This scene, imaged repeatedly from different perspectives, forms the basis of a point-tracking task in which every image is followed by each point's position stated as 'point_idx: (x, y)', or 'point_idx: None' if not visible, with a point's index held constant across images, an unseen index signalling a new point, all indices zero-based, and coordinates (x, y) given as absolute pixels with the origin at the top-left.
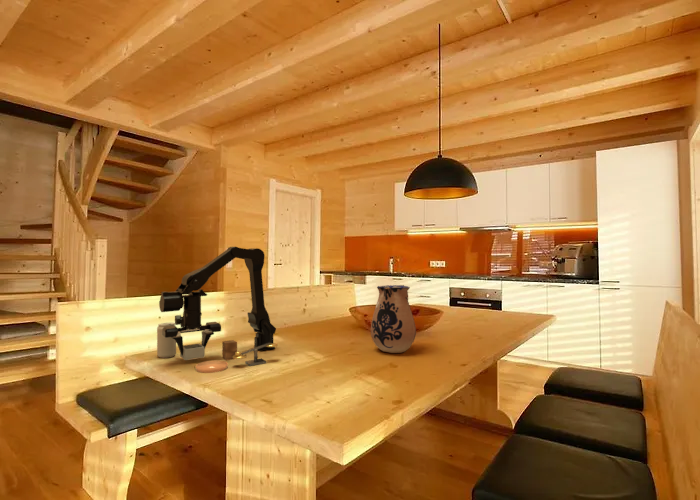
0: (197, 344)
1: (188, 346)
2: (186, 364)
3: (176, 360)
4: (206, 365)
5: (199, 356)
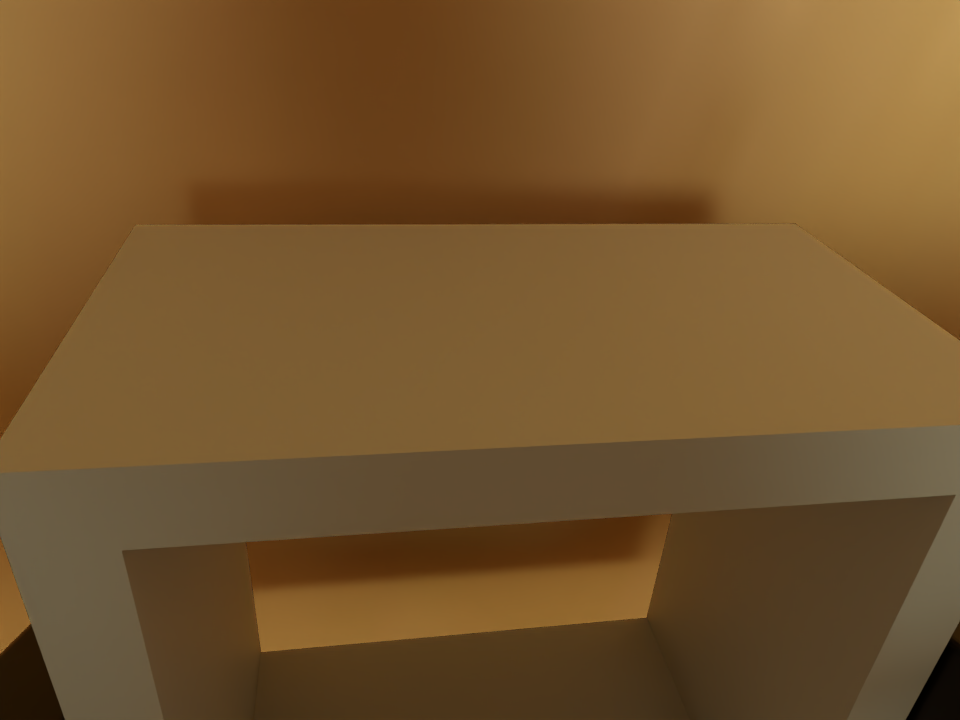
0: (910, 478)
1: (465, 477)
2: (268, 599)
3: (42, 111)
4: None
5: (575, 681)
